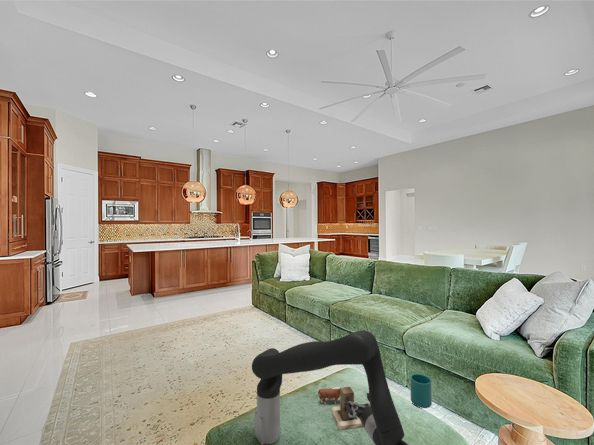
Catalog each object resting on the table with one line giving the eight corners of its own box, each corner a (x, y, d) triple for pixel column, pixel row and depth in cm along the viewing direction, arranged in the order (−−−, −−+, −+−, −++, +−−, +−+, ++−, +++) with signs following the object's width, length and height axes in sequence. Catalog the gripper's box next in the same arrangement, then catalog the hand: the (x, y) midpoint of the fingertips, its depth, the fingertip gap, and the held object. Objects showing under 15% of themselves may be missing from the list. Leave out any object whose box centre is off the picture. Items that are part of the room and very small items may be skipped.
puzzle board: (339, 431, 112) (339, 426, 112) (330, 412, 124) (330, 407, 124) (389, 425, 116) (389, 419, 116) (376, 406, 128) (376, 401, 128)
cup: (423, 393, 138) (423, 370, 139) (435, 408, 126) (435, 384, 127) (405, 393, 138) (405, 370, 139) (415, 409, 126) (415, 384, 127)
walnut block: (343, 422, 116) (343, 393, 117) (340, 415, 121) (340, 387, 121) (354, 421, 117) (353, 392, 117) (350, 414, 122) (350, 386, 122)
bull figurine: (347, 407, 128) (347, 389, 128) (318, 406, 128) (318, 389, 128) (346, 401, 132) (346, 384, 132) (317, 401, 132) (317, 383, 133)
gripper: (395, 411, 94) (374, 384, 110) (355, 416, 91) (339, 388, 107) (396, 433, 94) (374, 404, 109) (356, 440, 91) (340, 408, 107)
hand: (357, 396), depth 108 cm, fingers open, 8 cm apart
